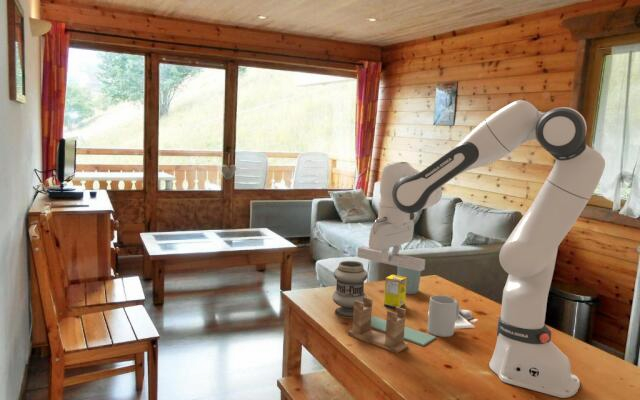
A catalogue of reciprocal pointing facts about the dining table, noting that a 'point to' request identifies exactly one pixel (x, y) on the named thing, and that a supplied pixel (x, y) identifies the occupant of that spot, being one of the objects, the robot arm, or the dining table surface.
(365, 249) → the rail
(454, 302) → the mug
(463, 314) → the cloth
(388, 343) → the rack
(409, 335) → the mat
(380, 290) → the dining table surface
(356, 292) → the apothecary jar
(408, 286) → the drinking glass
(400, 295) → the supplement box
